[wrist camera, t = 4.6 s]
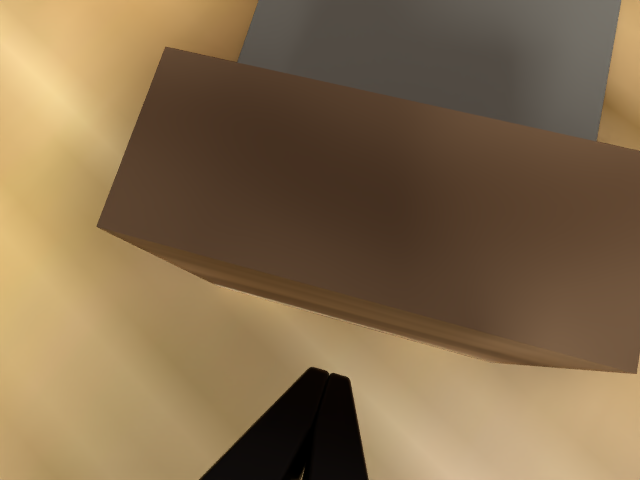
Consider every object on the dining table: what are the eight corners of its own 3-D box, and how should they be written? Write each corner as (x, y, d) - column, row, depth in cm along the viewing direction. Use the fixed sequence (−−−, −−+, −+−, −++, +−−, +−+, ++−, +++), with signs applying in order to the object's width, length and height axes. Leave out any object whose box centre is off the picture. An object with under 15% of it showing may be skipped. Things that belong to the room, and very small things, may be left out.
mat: (571, 253, 18) (576, 251, 17) (206, 163, 19) (203, 159, 19) (622, -27, 20) (627, -35, 20) (292, -86, 22) (291, -95, 21)
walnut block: (489, 362, 17) (636, 373, 8) (219, 286, 18) (96, 226, 9) (512, 252, 18) (667, 157, 9) (251, 187, 19) (165, 46, 10)
